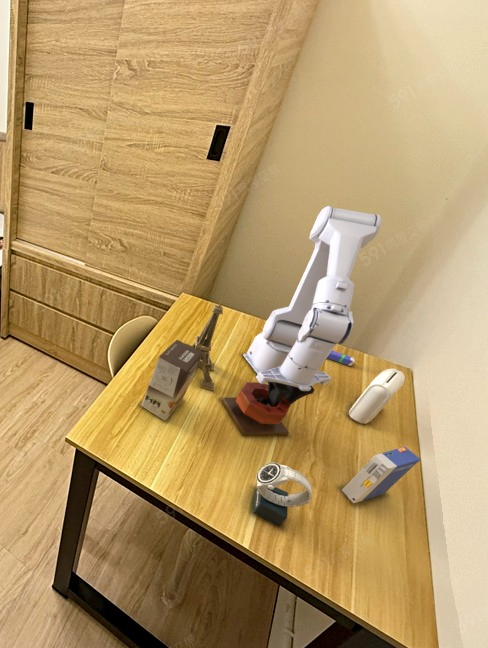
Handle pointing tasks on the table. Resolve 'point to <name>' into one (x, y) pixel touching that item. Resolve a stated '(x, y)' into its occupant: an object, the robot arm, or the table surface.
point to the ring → (259, 410)
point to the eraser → (341, 358)
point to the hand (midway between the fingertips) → (276, 403)
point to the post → (252, 420)
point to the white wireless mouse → (377, 395)
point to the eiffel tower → (207, 347)
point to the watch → (278, 492)
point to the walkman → (380, 474)
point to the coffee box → (171, 378)
